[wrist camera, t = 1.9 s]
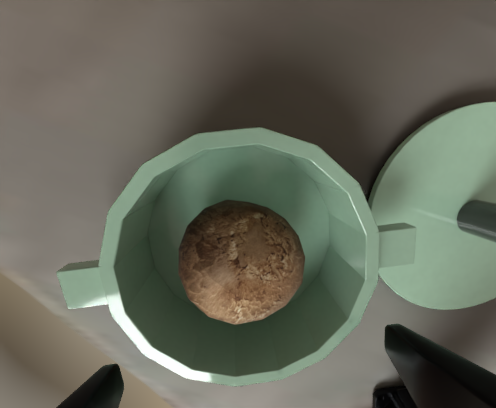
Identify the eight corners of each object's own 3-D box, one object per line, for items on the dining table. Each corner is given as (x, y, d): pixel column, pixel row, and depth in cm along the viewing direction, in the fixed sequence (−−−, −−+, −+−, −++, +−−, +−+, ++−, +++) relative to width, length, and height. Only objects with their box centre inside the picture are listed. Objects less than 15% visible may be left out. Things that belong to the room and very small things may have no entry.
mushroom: (227, 350, 16) (245, 374, 10) (159, 259, 17) (141, 236, 11) (301, 271, 19) (345, 256, 13) (238, 201, 20) (255, 161, 15)
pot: (368, 306, 20) (416, 359, 15) (128, 339, 19) (89, 409, 14) (372, 122, 16) (437, 108, 11) (78, 152, 15) (2, 152, 10)
